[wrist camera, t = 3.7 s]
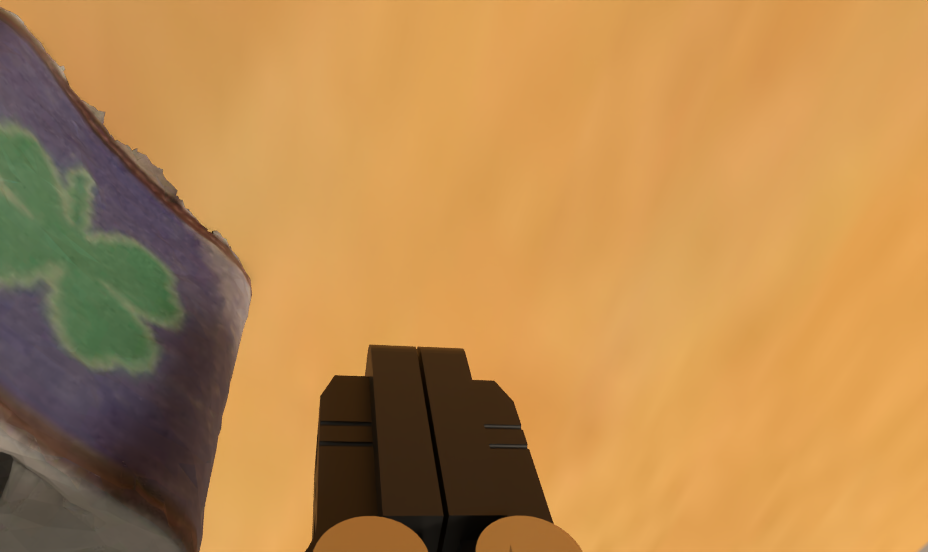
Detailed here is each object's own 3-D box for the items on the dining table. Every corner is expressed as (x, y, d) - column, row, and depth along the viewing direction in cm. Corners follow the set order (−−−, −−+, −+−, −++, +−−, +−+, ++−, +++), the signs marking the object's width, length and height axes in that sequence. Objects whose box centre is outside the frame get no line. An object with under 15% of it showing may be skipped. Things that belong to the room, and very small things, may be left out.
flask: (274, 289, 19) (209, 684, 10) (185, 344, 20) (43, 773, 10) (-19, -36, 15) (-621, 138, 6) (-126, 46, 15) (-846, 332, 6)
